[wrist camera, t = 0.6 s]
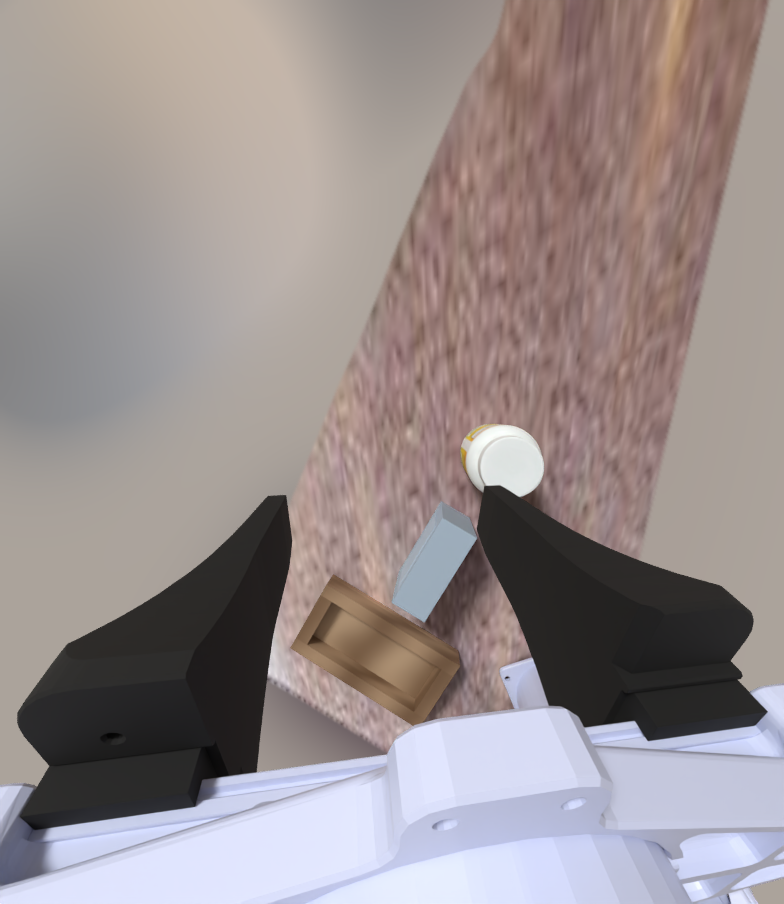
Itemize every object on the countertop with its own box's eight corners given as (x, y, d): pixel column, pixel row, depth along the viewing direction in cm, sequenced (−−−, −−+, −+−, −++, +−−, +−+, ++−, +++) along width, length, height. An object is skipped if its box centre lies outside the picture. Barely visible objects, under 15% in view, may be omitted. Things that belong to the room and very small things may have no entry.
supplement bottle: (475, 414, 32) (492, 410, 22) (530, 439, 32) (572, 446, 22) (449, 468, 33) (455, 486, 23) (503, 493, 32) (532, 522, 23)
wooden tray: (458, 650, 34) (459, 666, 32) (419, 710, 35) (418, 729, 33) (333, 574, 35) (326, 584, 33) (299, 634, 36) (290, 648, 34)
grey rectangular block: (440, 500, 33) (442, 517, 27) (469, 517, 33) (477, 538, 27) (398, 571, 34) (391, 602, 28) (426, 587, 34) (424, 622, 28)
